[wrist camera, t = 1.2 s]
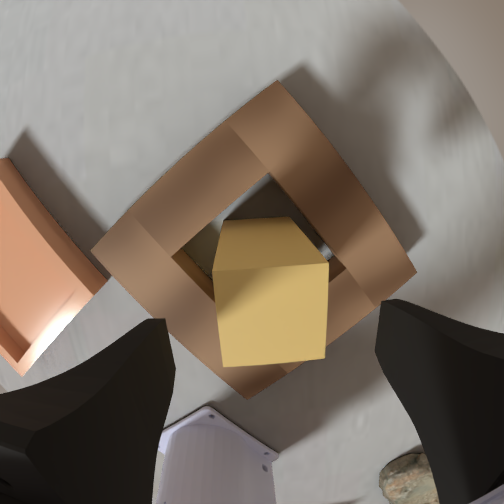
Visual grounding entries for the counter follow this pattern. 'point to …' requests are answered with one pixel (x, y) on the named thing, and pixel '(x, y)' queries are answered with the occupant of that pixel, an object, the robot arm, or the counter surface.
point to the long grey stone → (409, 481)
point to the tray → (36, 273)
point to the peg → (269, 293)
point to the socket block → (226, 192)
